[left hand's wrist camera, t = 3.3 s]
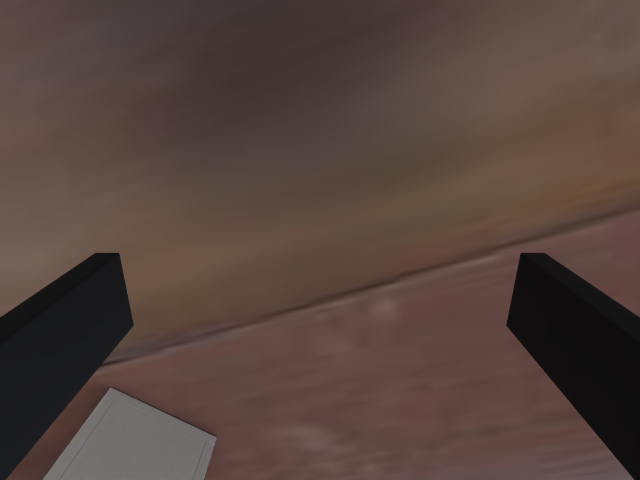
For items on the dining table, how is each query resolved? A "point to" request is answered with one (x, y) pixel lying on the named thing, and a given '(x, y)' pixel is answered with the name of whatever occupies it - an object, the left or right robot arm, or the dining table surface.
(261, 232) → the dining table surface
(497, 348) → the dining table surface
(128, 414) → the chest
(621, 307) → the left robot arm
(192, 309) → the dining table surface
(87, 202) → the dining table surface
